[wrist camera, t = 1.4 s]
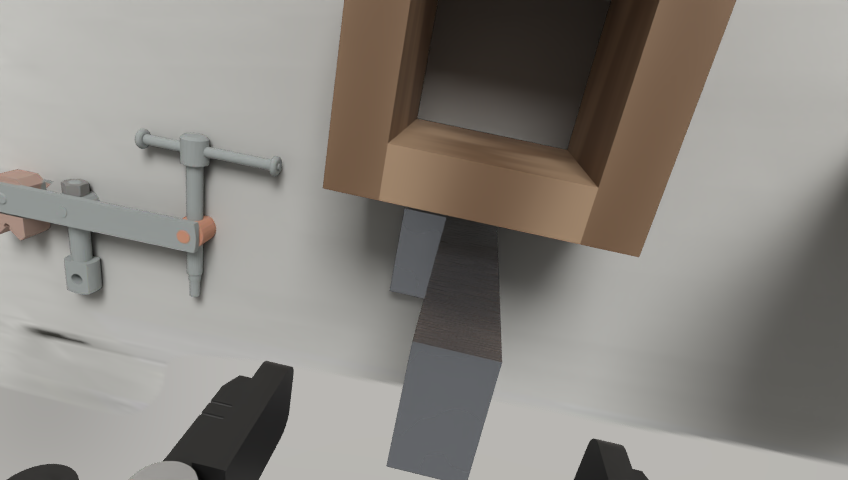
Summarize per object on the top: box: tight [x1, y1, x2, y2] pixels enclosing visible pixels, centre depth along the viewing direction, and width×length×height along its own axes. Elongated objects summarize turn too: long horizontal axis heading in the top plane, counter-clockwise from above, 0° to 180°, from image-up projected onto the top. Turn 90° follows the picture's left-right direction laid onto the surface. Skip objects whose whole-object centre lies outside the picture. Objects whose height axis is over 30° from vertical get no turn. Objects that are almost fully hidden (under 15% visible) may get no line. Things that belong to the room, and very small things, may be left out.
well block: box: [323, 0, 736, 257], centre depth 18 cm, size 11×11×7 cm
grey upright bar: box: [387, 206, 502, 480], centre depth 19 cm, size 4×4×12 cm
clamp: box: [0, 129, 282, 297], centre depth 26 cm, size 15×2×10 cm
